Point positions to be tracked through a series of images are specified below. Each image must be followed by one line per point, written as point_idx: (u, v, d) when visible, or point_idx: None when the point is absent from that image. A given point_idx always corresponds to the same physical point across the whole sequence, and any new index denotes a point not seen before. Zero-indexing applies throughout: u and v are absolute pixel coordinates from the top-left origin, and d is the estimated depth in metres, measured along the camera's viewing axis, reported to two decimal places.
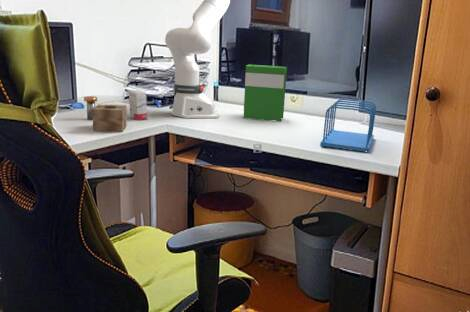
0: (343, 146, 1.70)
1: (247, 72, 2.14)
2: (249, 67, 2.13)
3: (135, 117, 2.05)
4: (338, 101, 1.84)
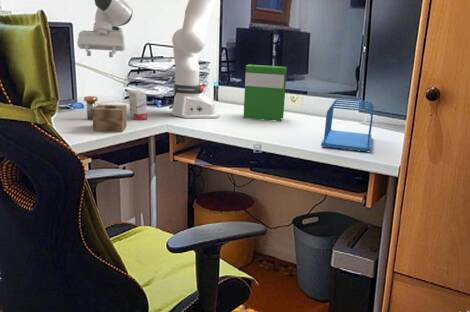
0: (344, 146, 1.70)
1: (247, 72, 2.14)
2: (249, 67, 2.13)
3: (135, 117, 2.05)
4: (336, 101, 1.84)
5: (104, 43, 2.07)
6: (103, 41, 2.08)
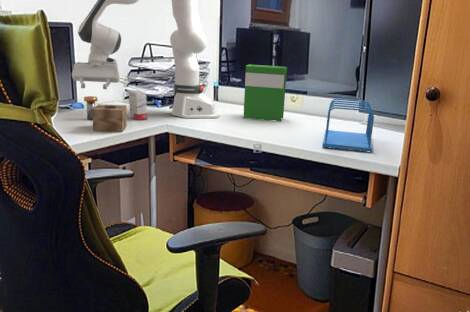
0: (346, 146, 1.69)
1: (247, 72, 2.14)
2: (249, 67, 2.13)
3: (135, 117, 2.05)
4: (335, 101, 1.84)
5: (98, 75, 2.07)
6: (98, 73, 2.08)
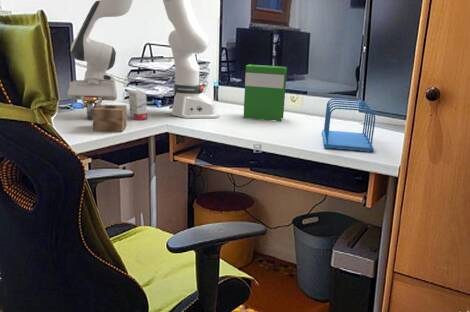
0: (347, 147, 1.69)
1: (247, 72, 2.14)
2: (249, 67, 2.13)
3: (135, 117, 2.05)
4: (333, 101, 1.83)
5: (95, 93, 2.01)
6: (95, 91, 2.02)
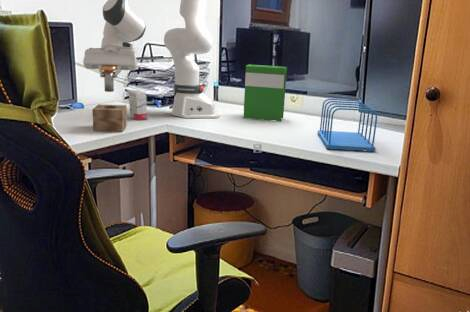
0: (350, 147, 1.69)
1: (247, 72, 2.14)
2: (249, 67, 2.13)
3: (135, 117, 2.05)
4: (330, 101, 1.83)
5: (113, 62, 1.82)
6: (113, 59, 1.82)
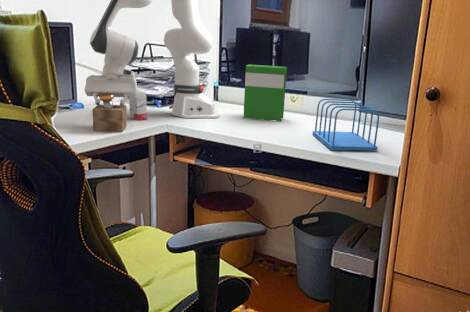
0: (353, 147, 1.68)
1: (247, 72, 2.14)
2: (249, 67, 2.13)
3: (135, 117, 2.05)
4: (327, 102, 1.81)
5: (114, 90, 1.84)
6: (114, 87, 1.85)
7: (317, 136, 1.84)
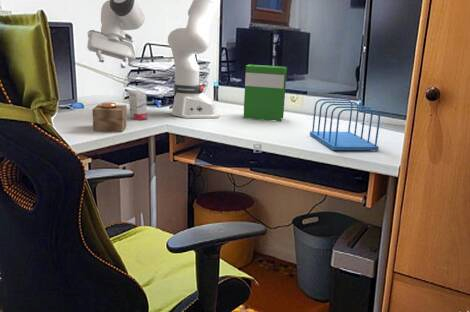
0: (356, 148, 1.68)
1: (247, 72, 2.14)
2: (249, 67, 2.13)
3: (135, 117, 2.05)
4: (325, 102, 1.80)
5: (117, 51, 1.95)
6: (116, 48, 1.95)
7: (316, 137, 1.83)
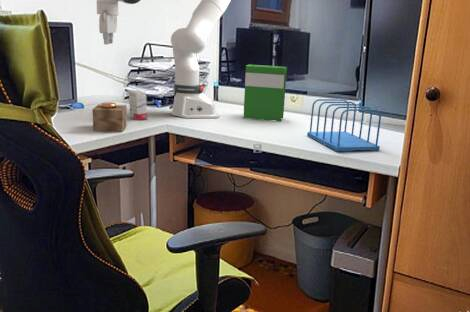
0: (358, 148, 1.68)
1: (247, 72, 2.14)
2: (249, 67, 2.13)
3: (135, 117, 2.05)
4: (324, 102, 1.80)
5: (113, 30, 2.05)
6: (112, 27, 2.04)
7: (315, 137, 1.82)
